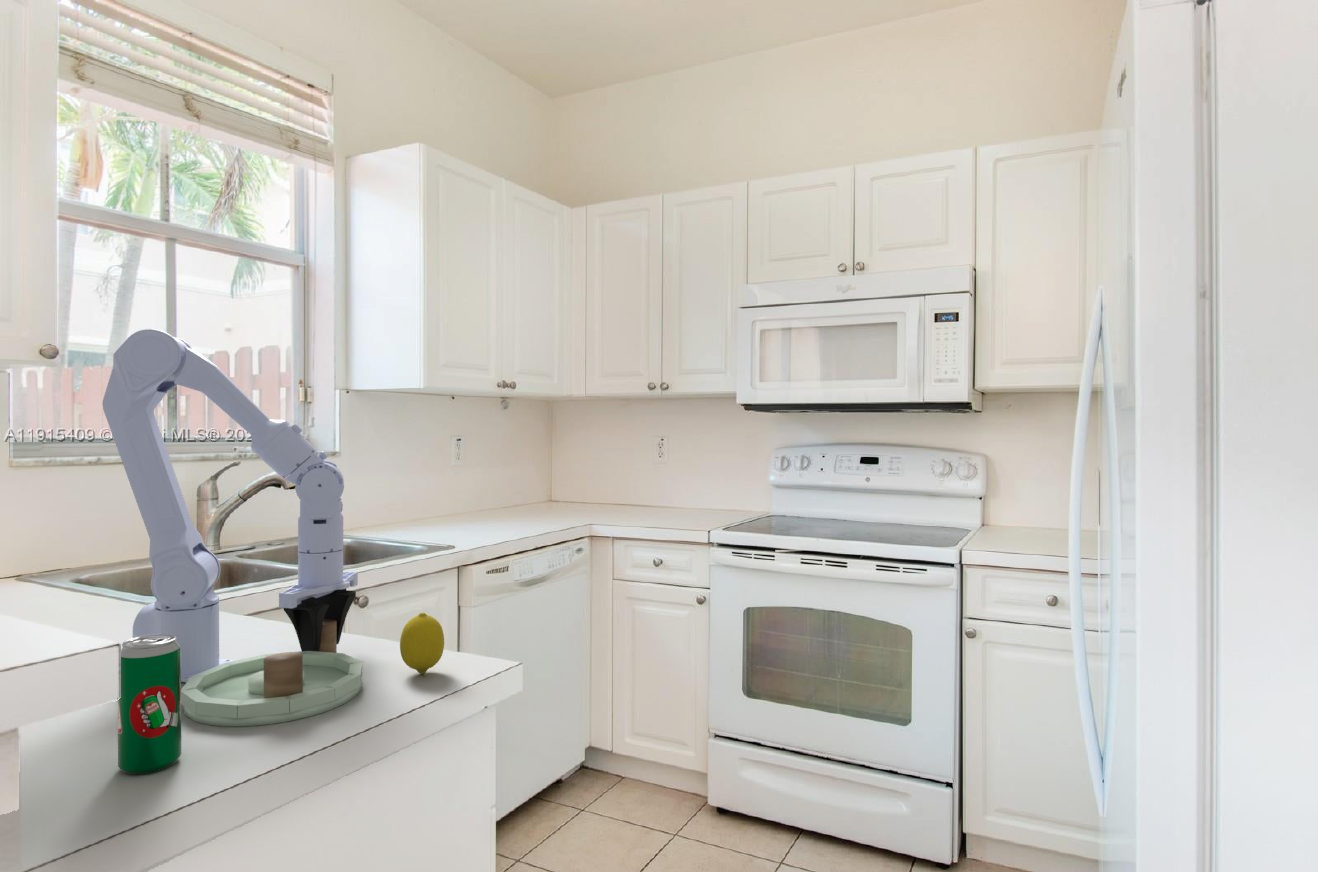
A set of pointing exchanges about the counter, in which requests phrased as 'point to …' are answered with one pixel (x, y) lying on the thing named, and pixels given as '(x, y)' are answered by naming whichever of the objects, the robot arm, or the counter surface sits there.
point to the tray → (240, 691)
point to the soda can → (149, 704)
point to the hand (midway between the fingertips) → (320, 648)
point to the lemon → (422, 642)
